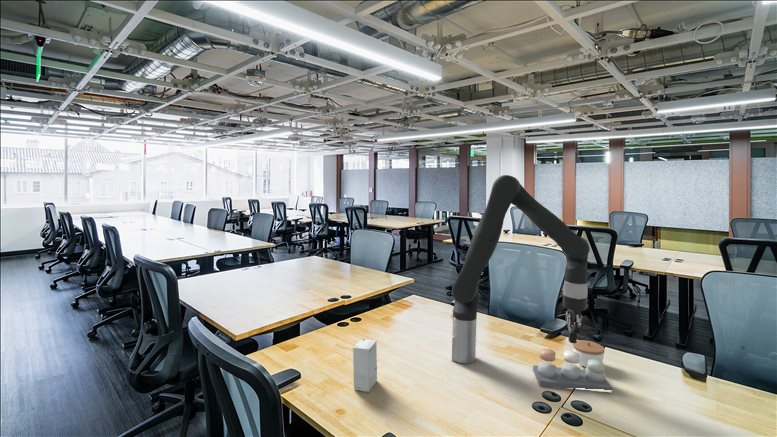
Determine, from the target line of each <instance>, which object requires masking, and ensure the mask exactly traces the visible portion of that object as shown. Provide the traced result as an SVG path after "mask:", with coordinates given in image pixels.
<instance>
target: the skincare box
mask: <svg viewBox="0 0 777 437" xmlns="http://www.w3.org/2000/svg"><path fill="white" fill-rule="evenodd" d="M377 347H378V346H377V340H375V339H373V340H372V339H367V338H366V339H363V338H362V339H361V340H360V341H358V342H357V343H356V345H355V346H354V347H352V351H353V354H352V355H353V361H352V363H353V389H354V390H356V391H361V392H365V393H370V391H371V389H372V388H373V386H374V385H375V384H376V383H377V382H378V361H377V360H378V357H377V353H378V352H377V349H378V348H377Z"/></svg>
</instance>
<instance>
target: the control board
mask: <svg viewBox="0 0 777 437" xmlns="http://www.w3.org/2000/svg"><path fill="white" fill-rule="evenodd" d="M532 365H533V364H532ZM532 371H533V373H534V376H535V378H536V380H537V383H538V386H539V387H542V386H543V388H544V387H545V388H552V387H556V388H555V389H563V388H573V389H575V388H585V389H604V390H612V391H613V386H612V385H611V384H610V382H609V381H608V380H607V379H606V370H605V369H604V372H603V373H595V372H592V371H590V370H589V369H588V368H587V367H586V368H585V369H581V368H580V367H579V366H578V365H577V364H573V363H562V364H561V367H558V366H556V365H555V364H554V363H552V362H549V361H539V362H537V365H533V366H532ZM558 387H559V388H558ZM573 389H572V390H573Z"/></svg>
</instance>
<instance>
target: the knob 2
mask: <svg viewBox="0 0 777 437" xmlns="http://www.w3.org/2000/svg"><path fill="white" fill-rule="evenodd" d="M587 368H588V369H589V370H590V371H592V372H595V373H603V372H604V370H605V363H604V362H603V361H602V362H601V361H598V360H594V359H590V360H588V366H587Z"/></svg>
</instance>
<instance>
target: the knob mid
mask: <svg viewBox="0 0 777 437" xmlns="http://www.w3.org/2000/svg"><path fill="white" fill-rule="evenodd" d="M563 360H564V361H565V362H566V363H568V364H573V365H577V364H579V360H580V354H579V353H577V352H574V351H573V350H569V349H568V350H564V351H563Z"/></svg>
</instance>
